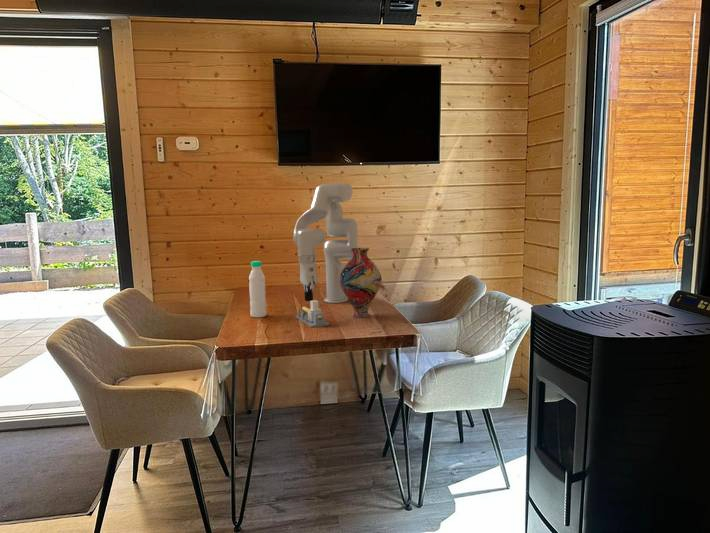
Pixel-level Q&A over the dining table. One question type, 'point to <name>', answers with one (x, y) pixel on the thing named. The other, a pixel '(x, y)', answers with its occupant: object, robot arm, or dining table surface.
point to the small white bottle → (313, 309)
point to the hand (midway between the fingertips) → (308, 300)
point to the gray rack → (316, 318)
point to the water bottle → (257, 290)
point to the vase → (360, 281)
